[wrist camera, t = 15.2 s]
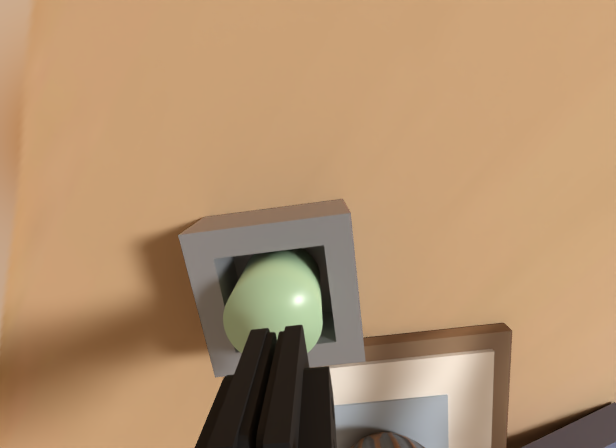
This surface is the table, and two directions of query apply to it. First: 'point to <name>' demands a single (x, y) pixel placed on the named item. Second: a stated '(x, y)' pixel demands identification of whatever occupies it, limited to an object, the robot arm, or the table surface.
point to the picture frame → (428, 388)
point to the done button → (275, 297)
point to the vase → (386, 441)
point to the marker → (584, 432)
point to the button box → (268, 238)
